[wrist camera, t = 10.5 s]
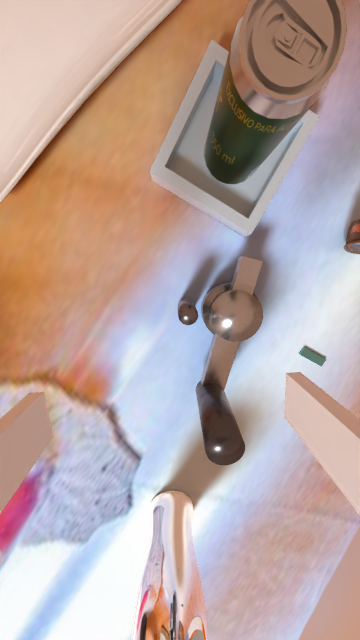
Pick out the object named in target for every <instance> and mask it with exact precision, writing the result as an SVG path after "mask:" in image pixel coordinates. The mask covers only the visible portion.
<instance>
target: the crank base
mask: <svg viewBox="0 0 360 640" xmlns="http://www.w3.org/2000/svg"><path fill="white" fill-rule="evenodd" d="M230 286H231V283H230V282H227V283H221V284H218V285H216V286H214V287H213V288H212V289H210V290H209V291H208V293H207V294H206V295H205V297H204V299H203V302H202V306H201V314H202V318H203V320H204V322H205V324H206V326H207V328H208V329H209V330H210V331H211V332H212V333H213V334H215V330H214V329H213V327H212V325H211V323H210V321H209V315H208V313H209V307H210V304H211V302H212V301H213V299H214V298H215V297H216V296H217V295H218V294H220V293H221V292H223V291H225V290H229V289H230ZM252 295H253V296H254V297H256V295H255V294H254V293H253V294H252ZM256 298H257V297H256ZM257 300H258V299H257ZM178 316H179V320H180V321H181V322H182V323H183V324H185V325H191V324H193V323H195V322H196V320H197V318H198V312H197V310H196V308H195V306H194V304H193V302H192V301H191V300H190V299H187V298H185V299H182V300H181V301H180V302H179V304H178ZM299 354H300V355H302V356H304V357H305V358H307V359H309V360H311V361H313V362H314V363H316V364H318V365H320V366H322V365H323V363H324V362H325V361H326V359H325V358H323V357H321V356H319V355H318V354H316V353H314V352H312V351H310V350H309V349H307V348H305V347H303V349H302V350H301V352H300V353H299Z"/></svg>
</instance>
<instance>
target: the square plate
mask: <svg viewBox="0 0 360 640" xmlns="http://www.w3.org/2000/svg"><path fill="white" fill-rule="evenodd" d="M181 1H182V0H0V203H1V202H2V201H3V200H4V199H5V198H6V196H7V195H8V194H9V193H10V191H11V190H12V189H13V188H14V187H15V185H16V184H17V183H18V182H19V180H20V179H21V178H22V176H23V175H24V174H25V172H26V171H27V170H28V169H29V167H30V166H31V165H32V164H33V162H34V161H35V160H36V159H37V157H38V156H39V155H40V154H41V153H42V151H43V150H44V149H45V148H46V146H47V145H48V144H49V143H50V142H51V140H52V139H53V138H54V137H55V136H56V134H57V133H58V132H59V131H60V130H61V128H62V127H63V126H64V125H65V124H66V123H67V121H68V120H69V119H70V118H71V117H72V116H73V114H74V113H75V112H76V111H77V110H78V109H79V107H80V106H81V105H82V104H83V103H84V101H85V100H86V99H87V98H88V97H89V96H90V95H91V94H92V93H93V92H94V91H95V90H96V89H97V88H98V87H99V86H100V84H101V83H102V82H103V81H104V80H105V79H106V78H107V77H108V76H109V75H110V74H111V73H112V72H113V71H114V70H115V68H116V67H117V66H118V65H119V64H120V63H121V62H122V61H123V60H124V59H125V58H126V57H127V56H128V55H129V54H130V53H131V52H132V51H133V50H134V49H135V48H136V47H137V46H138V45H139V44H140V43H141V42H142V41H143V40H144V39H145V38H146V37H147V36H148V35H149V34H150V33H151V32H152V31H153V30H154V29H155V28H156V27H157V26H158V25H159V24H160V23H161V22H162V21H163V20H164V19H165V18H166V17H167V16H168V15H169V14H170V13H171V12H172V11H173V10H174V9H175V8H176V7H177V6H178V5H179V3H180V2H181Z"/></svg>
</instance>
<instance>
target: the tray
mask: <svg viewBox="0 0 360 640" xmlns="http://www.w3.org/2000/svg"><path fill="white" fill-rule="evenodd" d="M228 53H229V51H227V50H226V49H225V48H223V47H222V46H220V45H219V44H218V43H216V42H215V41H213V40H211V42H210V44H209V46H208V48H207V50H206V52H205V55H204V57H203V59H202V61H201V63H200V65H199V67H198V70H197V72H196V74H195V76H194V78H193V80H192V82H191V84H190V87H189V89H188V91H187V93H186V95H185V97H184V99H183V101H182V104H181V106H180V108H179V110H178V112H177V114H176V116H175V118H174V121H173V123H172V125H171V127H170V129H169V131H168V133H167V135H166V138H165V140H164V142H163V144H162V146H161V148H160V150H159V152H158V155H157V157H156V159H155V161H154V163H153V165H152V167H151V169H150V174H151V178H152V181H153V182H155V183H157V184H158V185H160V186H161V187H163V188H165V189H166V190H168V191H170V192H171V193H173V194H175V195H176V196H178V197H179V198H181V199H183V200H184V201H186V202H188V203H189V204H191V205H193V206H194V207H196V208H198V209H199V210H201V211H202V212H204V213H206V214H207V215H209V216H211V217H212V218H214V219H216V220H217V221H219V222H221V223H222V224H224V225H225V226H227V227H229V228H230V229H232V230H234V231H235V232H237V233H239V234H240V235H242V236H243V237H246V236H248V235H250V234H252V232H253V231H254V229H255V227H256V225H257V224H258V222H259V220H260V219H261V217H262V215H263V214H264V212H265V210H266V208H267V207H268V205H269V203H270V202H271V200H272V198H273V196H274V195H275V193H276V191H277V190H278V188H279V186H280V185H281V183H282V181H283V179H284V178H285V176H286V174H287V173H288V171H289V169H290V167H291V166H292V164H293V162H294V161H295V159H296V157H297V156H298V154H299V152H300V150H301V149H302V147H303V145H304V144H305V142H306V140H307V138H308V137H309V135H310V133H311V132H312V130H313V128H314V127H315V125H316V123H317V121H318V120H319V118H320V117H319V116H318V115H316V114H315V113H313V112H312V111H311V110H308V111H307V112H306V113H305V115H304V116H303V117H302V118H301V119H300V120H299V122H298V123H297V124H296V125H295V126H294V127H293V128H292V130H291V131H290V132H289V133H288V134H287V135H286V136H285V138H284V139H283V140H282V141H281V142H280V143H279V145H278V146H277V147H276V148H275V149H274V150H273V151H272V153H271V154H270V155H269V156H268V157H267V158H266V160H265V161H264V162H263V163H262V164H261V165H260V166H259V168H258V169H257V170H256V171H255V172H254V173H253V174H252V176H251V177H249V178H248V179H246V180H245V181H244V182H241V183H238V184H225V183H222V182H220V181H218V180H217V179H216V178H215V177H213V176H212V175H211V173H210V172H209V170H208V168H207V166H206V162H205V158H204V150H205V143H206V139H207V135H208V131H209V127H210V123H211V120H212V116H213V112H214V108H215V104H216V100H217V96H218V92H219V88H220V85H221V81H222V77H223V73H224V69H225V65H226V61H227V57H228Z"/></svg>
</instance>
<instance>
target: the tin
mask: <svg viewBox="0 0 360 640" xmlns="http://www.w3.org/2000/svg"><path fill="white" fill-rule="evenodd" d="M344 249H345V250H346V251H347V252H350V253H355V254H360V219H359V220H357V221H354V222H352V224H351V226H350V229H349V233H348V237H347V242H346V245H345V246H344Z"/></svg>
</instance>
